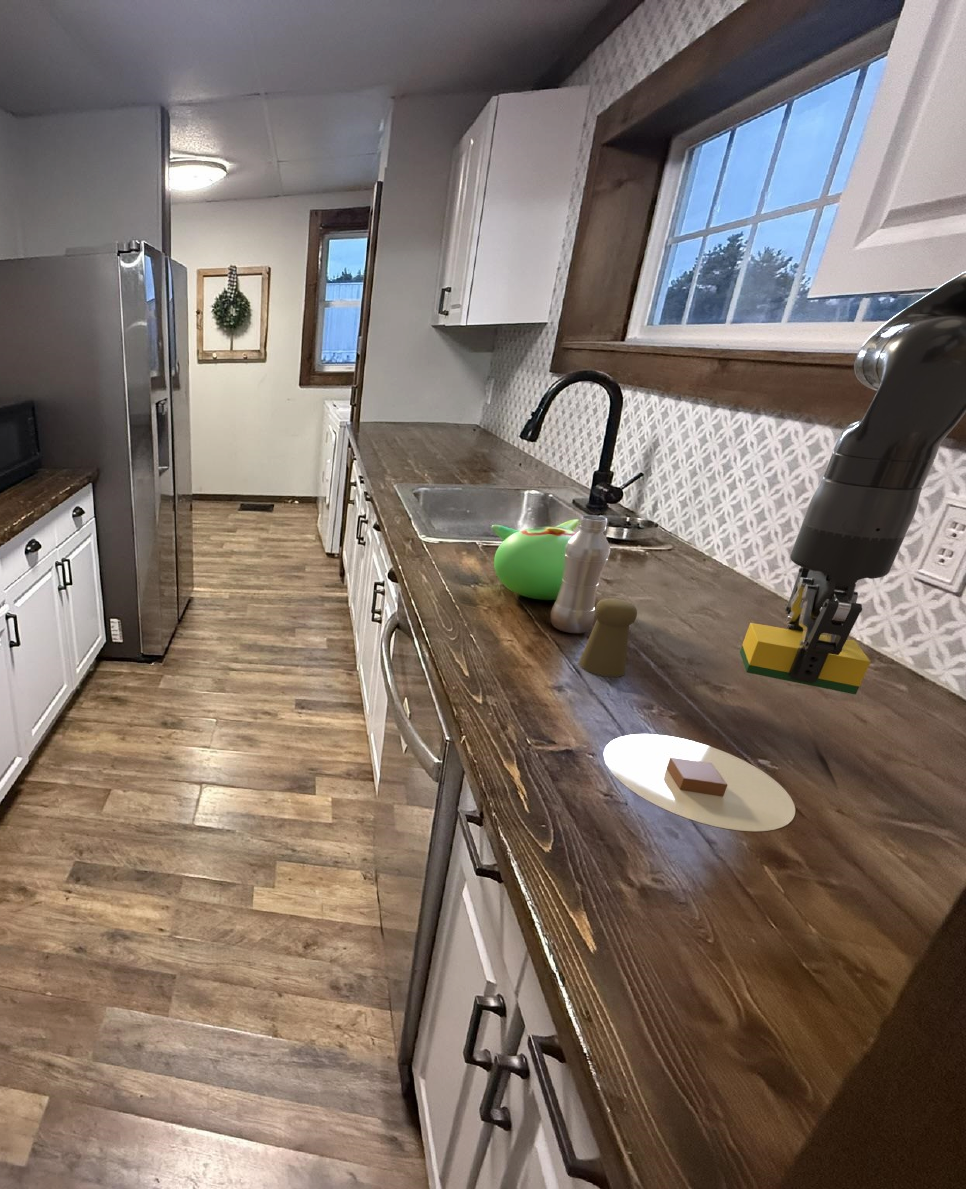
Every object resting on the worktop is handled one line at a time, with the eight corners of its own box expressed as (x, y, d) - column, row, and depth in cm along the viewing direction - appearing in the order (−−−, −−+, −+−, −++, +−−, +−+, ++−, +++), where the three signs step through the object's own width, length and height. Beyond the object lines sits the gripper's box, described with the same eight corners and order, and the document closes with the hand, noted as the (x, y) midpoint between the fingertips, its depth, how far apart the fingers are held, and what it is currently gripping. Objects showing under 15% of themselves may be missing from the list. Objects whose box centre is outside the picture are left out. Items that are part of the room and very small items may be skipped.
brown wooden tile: (707, 774, 72) (711, 762, 71) (723, 797, 68) (728, 784, 68) (666, 768, 73) (669, 756, 72) (679, 790, 69) (683, 778, 69)
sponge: (841, 672, 72) (855, 640, 70) (856, 695, 67) (871, 661, 66) (739, 652, 77) (750, 622, 75) (746, 672, 72) (757, 641, 71)
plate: (799, 764, 74) (802, 757, 74) (853, 892, 57) (857, 883, 57) (581, 712, 86) (583, 705, 85) (572, 806, 69) (574, 799, 68)
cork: (588, 675, 95) (605, 608, 91) (572, 657, 100) (586, 593, 96) (633, 678, 94) (651, 610, 90) (613, 659, 99) (630, 594, 95)
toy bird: (502, 610, 118) (515, 534, 113) (478, 579, 134) (489, 511, 128) (607, 614, 115) (627, 537, 110) (571, 582, 131) (586, 513, 125)
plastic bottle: (542, 630, 110) (565, 518, 102) (554, 618, 114) (577, 510, 107) (584, 641, 105) (612, 525, 98) (595, 628, 110) (622, 517, 102)
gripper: (930, 549, 58) (858, 706, 64) (883, 514, 69) (825, 651, 75) (819, 536, 62) (761, 685, 68) (791, 506, 73) (744, 636, 79)
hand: (795, 667), depth 72 cm, fingers closed on sponge, 6 cm apart
